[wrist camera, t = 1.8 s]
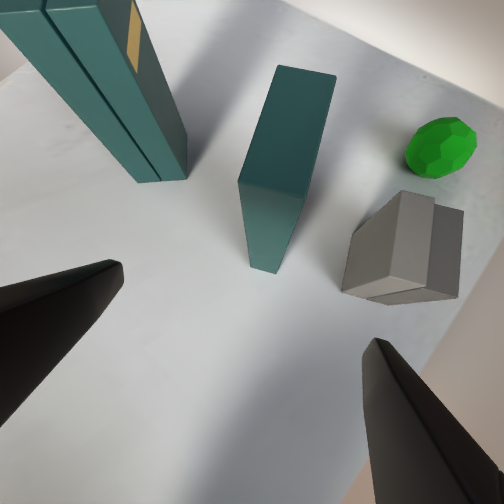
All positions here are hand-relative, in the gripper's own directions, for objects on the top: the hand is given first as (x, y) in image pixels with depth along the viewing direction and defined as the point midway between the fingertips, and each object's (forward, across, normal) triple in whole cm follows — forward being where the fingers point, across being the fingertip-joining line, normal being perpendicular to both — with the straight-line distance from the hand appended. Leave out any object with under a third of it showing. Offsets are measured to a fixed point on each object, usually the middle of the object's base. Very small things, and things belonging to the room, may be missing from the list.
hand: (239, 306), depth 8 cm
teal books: (+18, +13, 0) cm, 22 cm away
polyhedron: (+22, -12, -4) cm, 26 cm away
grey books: (+14, -9, +4) cm, 17 cm away
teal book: (+14, 0, +4) cm, 14 cm away
